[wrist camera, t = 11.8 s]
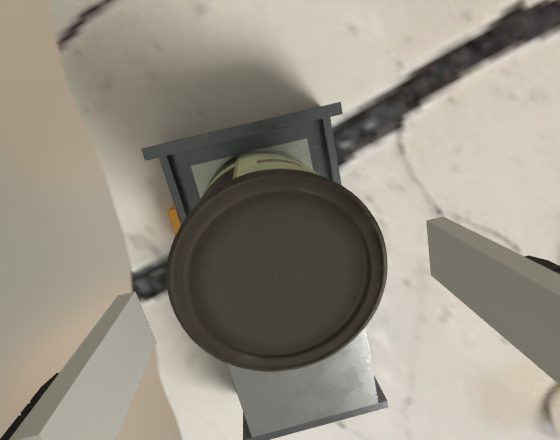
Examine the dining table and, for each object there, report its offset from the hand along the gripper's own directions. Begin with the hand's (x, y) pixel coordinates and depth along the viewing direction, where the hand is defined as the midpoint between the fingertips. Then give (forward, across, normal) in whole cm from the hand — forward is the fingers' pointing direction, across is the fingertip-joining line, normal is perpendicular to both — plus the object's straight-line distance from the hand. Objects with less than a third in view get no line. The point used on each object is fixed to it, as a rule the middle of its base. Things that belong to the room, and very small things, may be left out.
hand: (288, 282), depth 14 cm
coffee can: (+15, -1, 0) cm, 15 cm away
